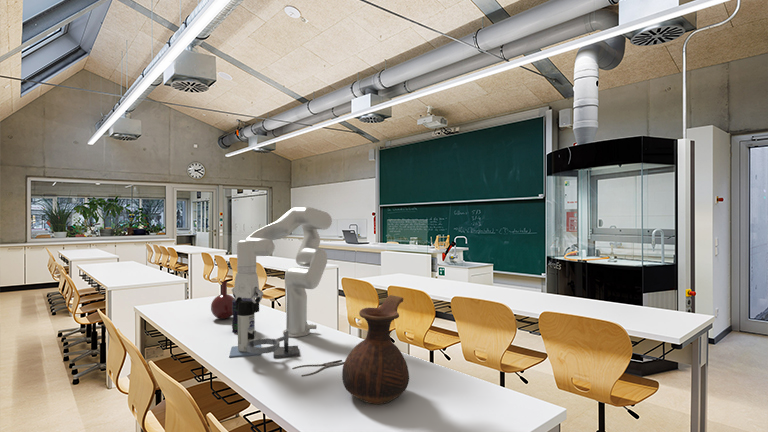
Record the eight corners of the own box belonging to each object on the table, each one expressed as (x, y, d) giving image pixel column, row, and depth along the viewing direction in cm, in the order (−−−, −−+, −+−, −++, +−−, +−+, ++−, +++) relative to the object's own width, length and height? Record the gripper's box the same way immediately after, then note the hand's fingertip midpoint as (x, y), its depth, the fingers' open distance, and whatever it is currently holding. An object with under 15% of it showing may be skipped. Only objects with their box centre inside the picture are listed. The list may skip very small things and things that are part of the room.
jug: (420, 406, 125) (421, 306, 125) (350, 415, 119) (351, 310, 118) (397, 378, 146) (398, 293, 145) (336, 384, 139) (337, 296, 139)
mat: (261, 345, 179) (261, 344, 179) (260, 355, 168) (260, 353, 168) (231, 348, 176) (231, 346, 176) (229, 357, 164) (229, 356, 164)
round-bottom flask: (231, 322, 217) (231, 284, 217) (206, 321, 217) (206, 283, 217) (240, 315, 230) (240, 280, 230) (216, 315, 230) (217, 279, 230)
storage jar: (249, 333, 197) (249, 302, 196) (228, 333, 197) (228, 302, 197) (256, 328, 206) (256, 298, 206) (236, 327, 207) (236, 297, 207)
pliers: (288, 368, 152) (330, 355, 167) (288, 371, 152) (330, 357, 167) (303, 376, 145) (346, 361, 160) (303, 378, 145) (346, 363, 160)
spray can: (249, 353, 168) (249, 303, 168) (234, 351, 169) (234, 303, 169) (257, 347, 174) (257, 300, 174) (242, 346, 176) (243, 299, 176)
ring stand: (297, 348, 176) (297, 327, 176) (301, 364, 157) (301, 341, 157) (248, 352, 171) (248, 330, 171) (245, 369, 152) (246, 345, 152)
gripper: (225, 269, 172) (225, 310, 173) (255, 272, 164) (255, 315, 165) (239, 267, 179) (239, 306, 180) (268, 270, 171) (269, 311, 171)
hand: (247, 310), depth 172 cm, fingers open, 9 cm apart
